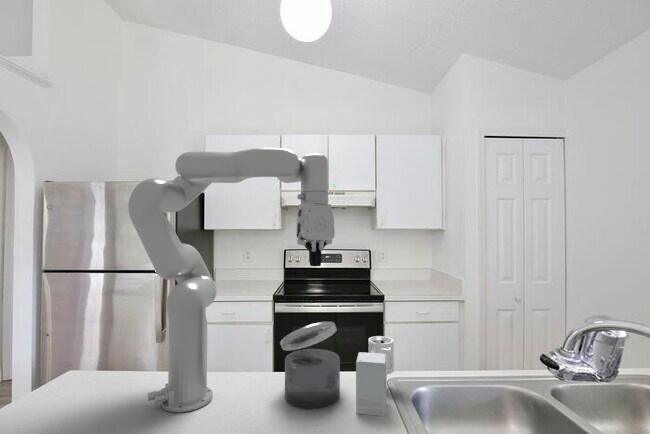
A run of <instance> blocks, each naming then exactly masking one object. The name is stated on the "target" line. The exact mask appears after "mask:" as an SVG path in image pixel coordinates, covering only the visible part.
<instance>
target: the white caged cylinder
mask: <svg viewBox="0 0 650 434" xmlns="http://www.w3.org/2000/svg"><path fill="white" fill-rule="evenodd" d="M382 341H384V342H385V343H382ZM394 349H395V348H394V339H393V338H392V337H388V336H382V335H376V336H371V337H369V338H368V353H382V354H386V392H387V391H388V384H387V381H388V379H387V378H388V375H391V374H392V373H393V374H394V370H395V367H394V366H395V365H394V364H395V363H394V362H395V361H394V360H395V357H394V353H395V352H394Z"/></svg>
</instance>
